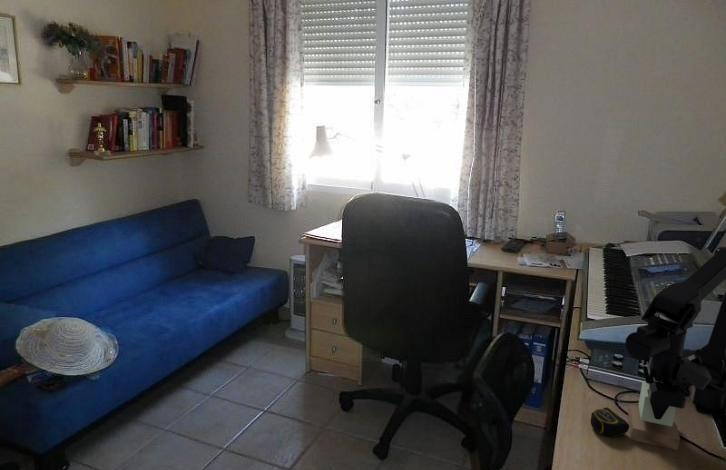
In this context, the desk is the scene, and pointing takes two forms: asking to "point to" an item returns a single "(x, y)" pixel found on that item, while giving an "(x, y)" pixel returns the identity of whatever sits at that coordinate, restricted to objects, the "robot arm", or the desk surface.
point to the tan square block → (652, 431)
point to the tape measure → (608, 422)
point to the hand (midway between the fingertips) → (655, 410)
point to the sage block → (647, 411)
